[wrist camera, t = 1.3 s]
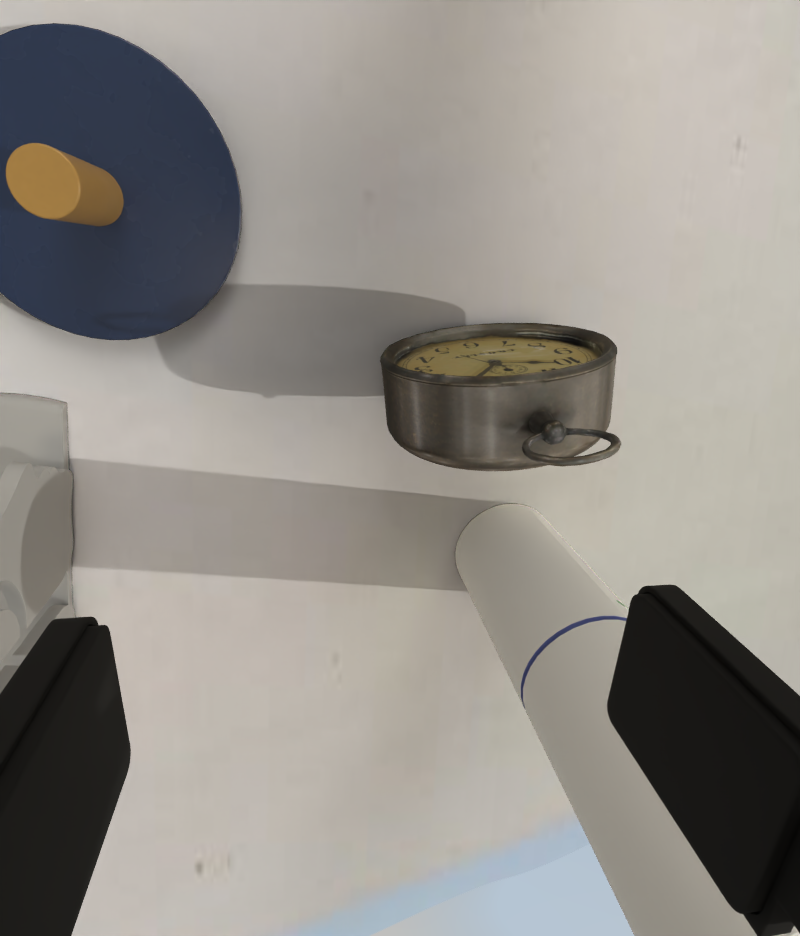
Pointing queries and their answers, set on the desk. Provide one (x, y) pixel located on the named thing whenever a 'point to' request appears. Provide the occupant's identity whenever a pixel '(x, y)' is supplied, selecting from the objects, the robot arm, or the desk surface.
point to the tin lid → (109, 186)
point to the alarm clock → (501, 395)
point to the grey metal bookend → (33, 524)
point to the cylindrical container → (586, 716)
